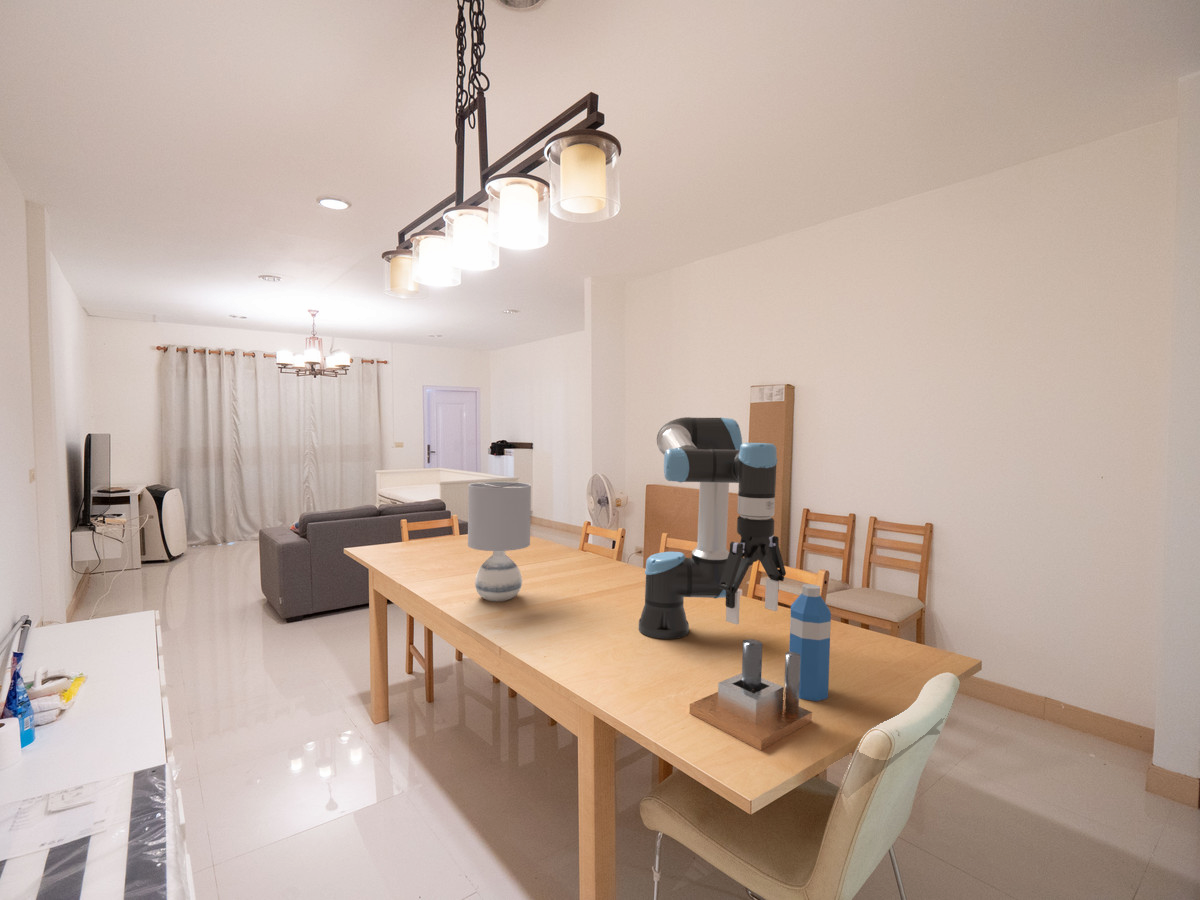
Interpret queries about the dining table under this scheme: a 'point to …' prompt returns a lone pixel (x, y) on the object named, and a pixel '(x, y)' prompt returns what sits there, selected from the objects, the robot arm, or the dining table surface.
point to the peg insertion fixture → (756, 708)
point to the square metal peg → (751, 665)
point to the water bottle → (811, 642)
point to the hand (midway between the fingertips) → (752, 615)
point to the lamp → (499, 534)
